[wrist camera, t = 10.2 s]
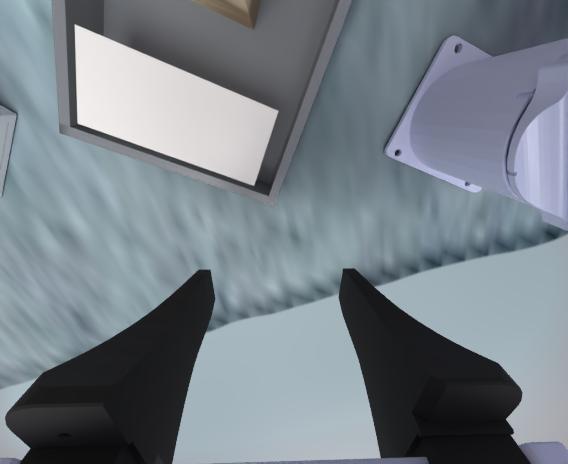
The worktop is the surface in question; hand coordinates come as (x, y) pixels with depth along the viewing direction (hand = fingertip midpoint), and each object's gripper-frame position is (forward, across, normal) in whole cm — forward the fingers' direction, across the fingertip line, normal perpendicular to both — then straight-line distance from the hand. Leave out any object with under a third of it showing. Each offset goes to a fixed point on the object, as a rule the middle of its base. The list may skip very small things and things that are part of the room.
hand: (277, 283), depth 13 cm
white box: (+9, +6, -8) cm, 13 cm away
